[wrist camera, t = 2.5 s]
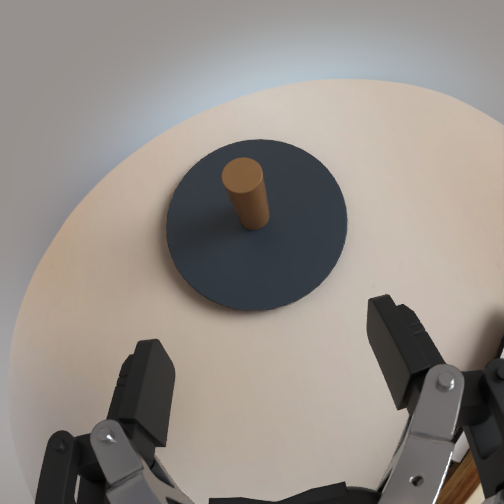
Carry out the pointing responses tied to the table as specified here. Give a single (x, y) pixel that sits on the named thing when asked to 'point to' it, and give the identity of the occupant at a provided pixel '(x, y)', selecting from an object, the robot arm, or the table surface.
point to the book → (463, 470)
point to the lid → (256, 225)
